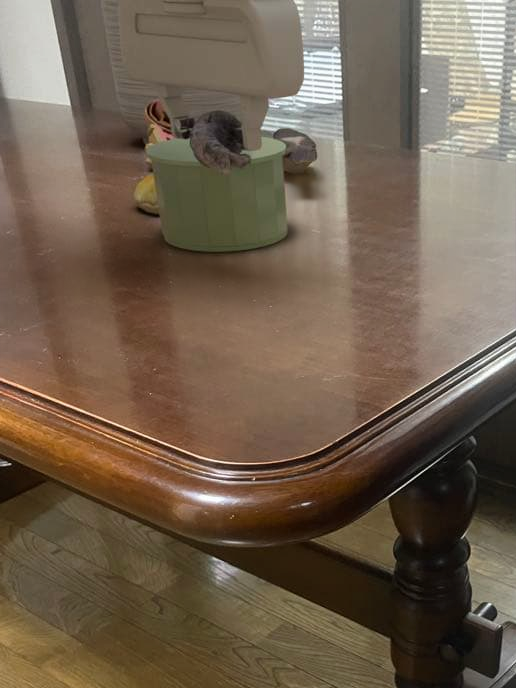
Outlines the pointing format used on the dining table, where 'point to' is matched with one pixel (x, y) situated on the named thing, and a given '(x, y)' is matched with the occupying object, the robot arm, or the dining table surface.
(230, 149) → the seashell
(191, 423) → the dining table surface
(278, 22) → the robot arm
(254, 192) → the pot
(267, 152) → the pot lid
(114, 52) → the vase
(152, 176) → the bread roll
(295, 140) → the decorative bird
